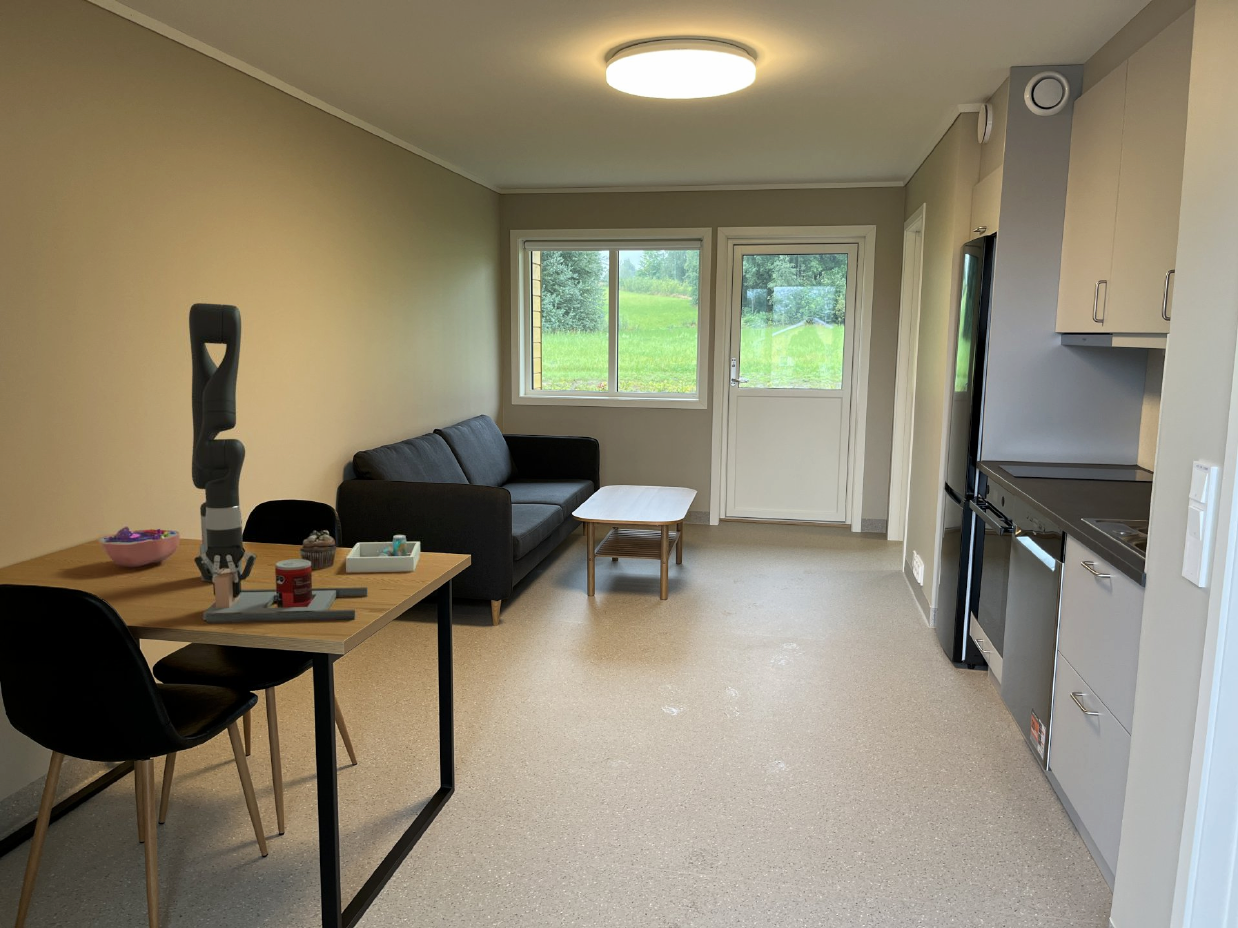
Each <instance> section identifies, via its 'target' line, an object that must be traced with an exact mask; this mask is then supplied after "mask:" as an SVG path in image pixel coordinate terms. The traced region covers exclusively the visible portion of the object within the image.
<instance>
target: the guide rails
mask: <svg viewBox="0 0 1238 928" xmlns="http://www.w3.org/2000/svg"><path fill="white" fill-rule="evenodd" d="M329 590H336V597H337V598H338V597H341V598H343V597H346V598H347V597H368V595H369V593H368V590H369V589H368V586H365V587H363V586H362V587H361V586H360V587H355V586H354V587H315V588H314V587H312V591H329ZM241 592H276V588H271V589H267V588H265V589H263V588H262V589H241ZM355 619H356V609H331V610H330V609H328V610H317V611H275V612H234V613H208V614H207V620H206V623H207V624H223V623H224V624H225V623H229V624H230V623H262V622H263V623H265V622H268V623H271V622H299V621H301V622H302V621H303V622H305V621H340V620H341V621H345V620H346V621H348V620H355Z"/></svg>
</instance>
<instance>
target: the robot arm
mask: <svg viewBox="0 0 1238 928" xmlns="http://www.w3.org/2000/svg"><path fill="white" fill-rule="evenodd" d="M241 317H242V315H241V312H240V309H239V307H237V306H236V305H232V304H221V303H220V304H219V303H206V302H205V303H202V302H201V303H200V302H198V303H197V302H196V303H193V304H192V305H190V308H189V313H188V328H189V329H188V330H189V340H190V350H191V351H190V353H191V363H192V364H191V367H192V368H191V370H192V372H191V373H192V374H191V411H192V412H191V413H192V429H193V431H192V433H193V437H192V455H191V457H192V458H191V479H192V483H193V486H194V487H195V488H196V489H199V490H204V491H205V502H203V503H201V504H200V506H199V507H200V508H199V509H200V512H199V513H200V527H201V529H200V530H201V543H200V545H199V554H198V556H196V557H194V560H193V561H194V563H195V565H196V566H197V568H198V570H199V572H200V575H201V578H200V579H201V582H202V581H204V582H212V585H213V595H214V596H215V582H214V578H215V577H216V576H218V575H219V574H220V573H221V572H222V571H224V570H225V569H230V573H231V574H232V578H233V581H234V582H233V583H232V584H233V598H237V597H238V596H239V595H240V594H241V590H242V581H243V580H244V581H245V580H246V579H247V578H249V577H250V574H251V572H252V569H253V567H254V565H255V563H256V560H257V557H258V555H257V554H256V553H249V552H246V549H245V548H244V546H243V544H244V543H243V519H242V512H241V507H240V488H239V486H240V478H241V472H242V468H243V465H244V461H245V456H246V447H245V445H244V444H243V442H242V441H240V439H237V438H221V439H220V438H219V439H217V438H216V437H217V436H218V435H219V434H220V433H221V432H226V431H230V430H232V429H234V428H235V427H236V425H237V402H236V401H237V400H236V398H237V396H236V394H237V381H238V380H237V379H238V373H239V363H240V354H241V353H240V352H241V342H242V341H241V339H242V318H241ZM207 344H213V345H214V344H215V345H216V344H217V345H222V344H223V345H225V346H226V347H225V354H223V355H224V356H223V358H222V360H221V362H220V364H219V365H218V366H217V365H216V363H215V362H214V360H213V358H212V357H211V355H210V353H209V351H208V348H207ZM243 558H244V562H245V563H246V564H245V566H244V567H243V563H242V562H243V561H242V559H243ZM243 568H244V569H243Z"/></svg>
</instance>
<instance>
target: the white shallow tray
mask: <svg viewBox="0 0 1238 928" xmlns="http://www.w3.org/2000/svg"><path fill="white" fill-rule="evenodd" d="M386 547H392V548H393V541H386V542H385V541H383V542H382V541H381V542H378V541H374V542H372V541H371V542H357V543H356V544H355V545H354V546H353V547H352V549H351V551H350V552H349V553H348V554H347V556H346V557H345V573H385V572H387V573H389V572H390V573H391V572H393V573H394V572H397V573H398V572H414V571H415V570H416V567H417V564H418V562H419V560H420V557H421V541H406V552H407V553H411V554H407V556H394V557H378V555H379V554H380V552H381V551H382V550H383V549H384V548H386ZM377 551H378V552H377ZM419 554H420V555H419Z"/></svg>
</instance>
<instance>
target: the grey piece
mask: <svg viewBox="0 0 1238 928" xmlns="http://www.w3.org/2000/svg"><path fill="white" fill-rule="evenodd" d="M214 582H215V595H214V597H215V602H214V603H213V604H212V605H210V606H209V608H207V609H206V610H205V611H204V612H203V613H202V616H203V617H202V619H203V621H205V620H206V621H207V614H208V613H234V612H275V611H317V610H329V608H330V607H331V606H332V603H333V602H334V600H335V599H336V590H329V591H312V601H311V603H310V604H309V605H308V607H284V608H278V607H271V605H272V604H273V603H274V602H277V594H276V592H241V594H240V595H239V596H238V597H237V598H233V584H232V583H233V582H234V581H233V578H232V574H231V573H230V569H225V570H224V571H222V572H221V573H220V574H219V575H218V576H216V577H215V578H214Z"/></svg>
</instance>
